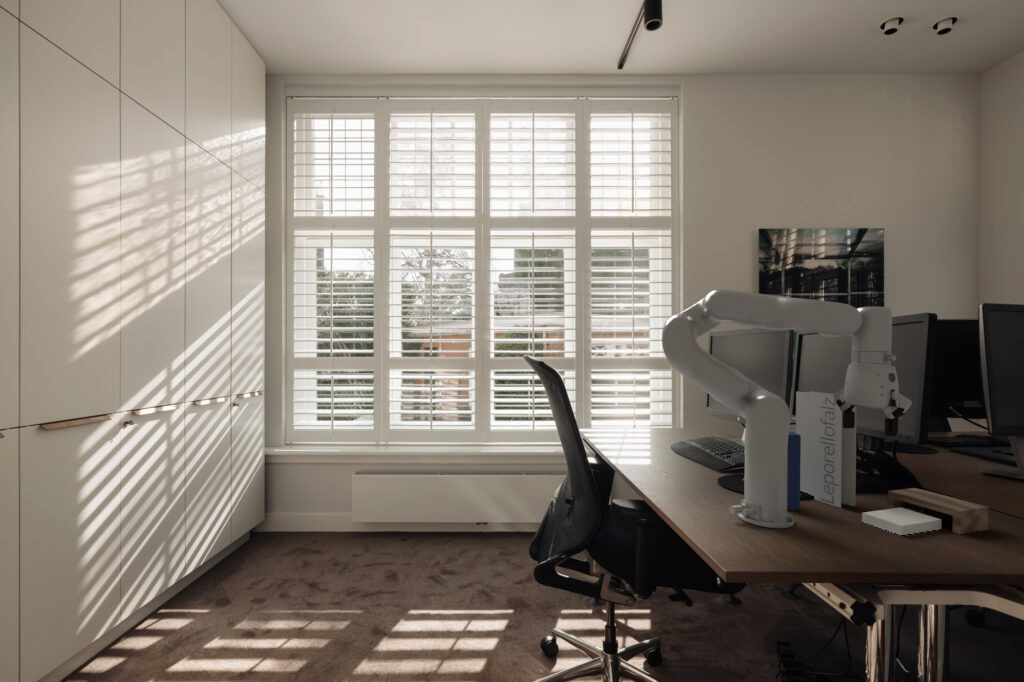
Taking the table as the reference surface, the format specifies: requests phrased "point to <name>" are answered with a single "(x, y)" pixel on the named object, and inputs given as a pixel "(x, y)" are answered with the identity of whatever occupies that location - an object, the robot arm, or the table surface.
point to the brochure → (826, 449)
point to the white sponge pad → (901, 521)
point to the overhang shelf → (942, 508)
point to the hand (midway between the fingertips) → (868, 431)
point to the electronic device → (793, 471)
